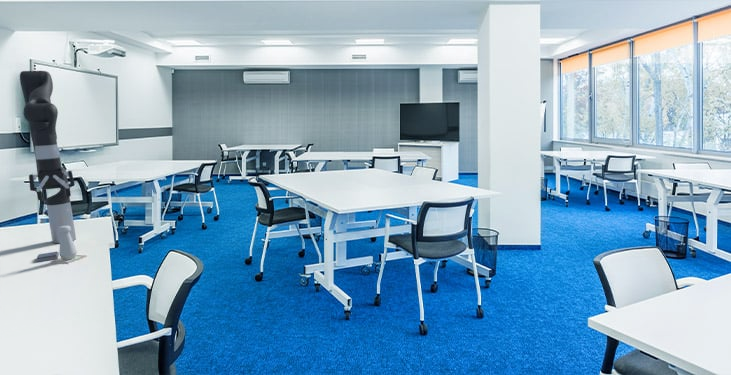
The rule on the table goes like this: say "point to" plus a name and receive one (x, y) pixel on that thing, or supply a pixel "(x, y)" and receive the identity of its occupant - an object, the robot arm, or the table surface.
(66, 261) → the marked square
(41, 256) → the ink pad
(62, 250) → the salt shaker
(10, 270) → the table surface
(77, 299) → the table surface
